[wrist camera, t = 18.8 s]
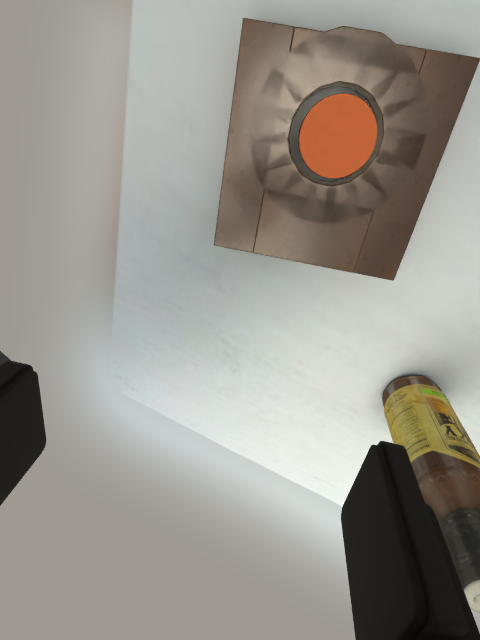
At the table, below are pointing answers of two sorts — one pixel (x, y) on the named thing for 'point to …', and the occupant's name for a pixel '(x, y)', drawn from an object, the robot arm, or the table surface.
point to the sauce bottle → (441, 469)
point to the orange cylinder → (338, 135)
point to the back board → (363, 185)
